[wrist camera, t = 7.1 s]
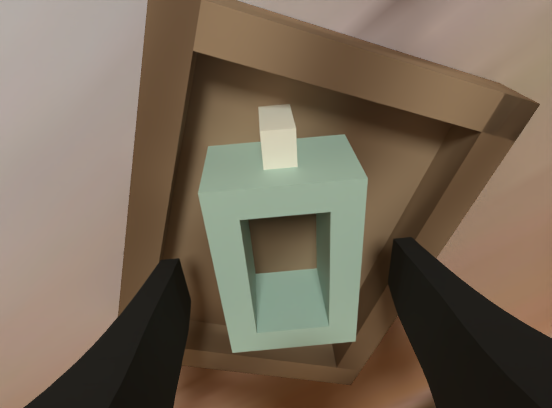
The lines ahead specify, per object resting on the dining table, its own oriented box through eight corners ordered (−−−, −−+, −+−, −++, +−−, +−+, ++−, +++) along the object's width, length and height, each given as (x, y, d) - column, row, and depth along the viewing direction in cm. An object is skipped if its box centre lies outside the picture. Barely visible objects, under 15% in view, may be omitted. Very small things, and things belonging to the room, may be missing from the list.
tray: (500, 83, 13) (540, 104, 11) (342, 347, 20) (350, 384, 18) (166, -22, 10) (149, -17, 9) (127, 318, 18) (114, 357, 16)
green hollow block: (339, 283, 17) (355, 341, 14) (235, 292, 17) (232, 352, 14) (345, 99, 12) (371, 137, 10) (201, 111, 12) (189, 153, 10)
